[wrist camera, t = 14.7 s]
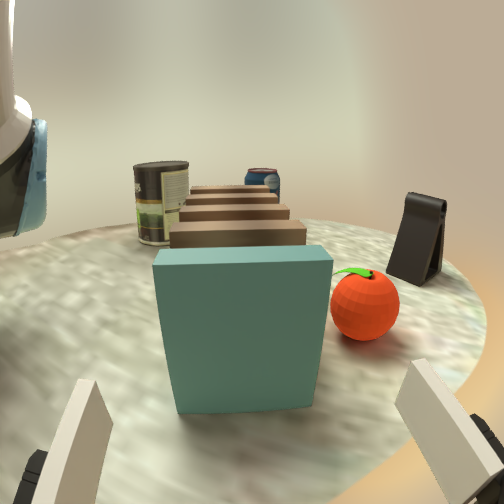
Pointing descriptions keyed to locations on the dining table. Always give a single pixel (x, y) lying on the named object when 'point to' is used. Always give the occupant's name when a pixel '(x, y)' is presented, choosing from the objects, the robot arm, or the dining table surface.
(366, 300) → the clementine
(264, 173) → the soda can
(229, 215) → the walnut domino
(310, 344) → the teal domino
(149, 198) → the coffee can
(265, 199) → the walnut domino
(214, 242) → the walnut domino
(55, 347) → the dining table surface
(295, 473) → the dining table surface
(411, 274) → the phone stand
